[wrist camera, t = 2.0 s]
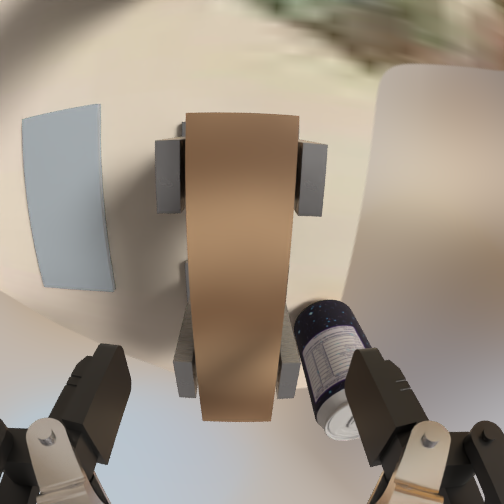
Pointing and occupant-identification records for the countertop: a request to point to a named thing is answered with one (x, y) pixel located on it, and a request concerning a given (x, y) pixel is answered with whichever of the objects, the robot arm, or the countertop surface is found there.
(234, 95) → the countertop surface
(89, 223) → the mat
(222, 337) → the rail
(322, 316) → the beverage can
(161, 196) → the grey metal bracket
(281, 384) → the grey bracket
